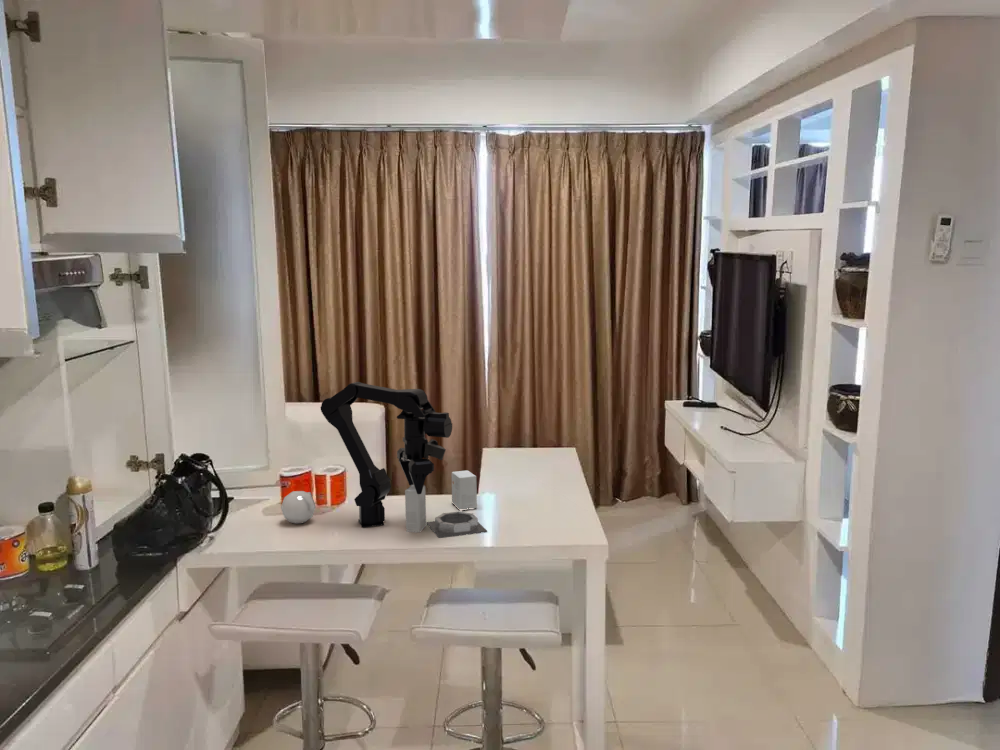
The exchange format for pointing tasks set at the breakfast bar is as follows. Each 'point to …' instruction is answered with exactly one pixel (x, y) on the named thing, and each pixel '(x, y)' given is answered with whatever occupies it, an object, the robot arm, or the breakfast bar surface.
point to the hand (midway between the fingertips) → (415, 489)
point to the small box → (464, 489)
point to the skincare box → (415, 509)
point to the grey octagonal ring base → (455, 524)
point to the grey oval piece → (298, 507)
